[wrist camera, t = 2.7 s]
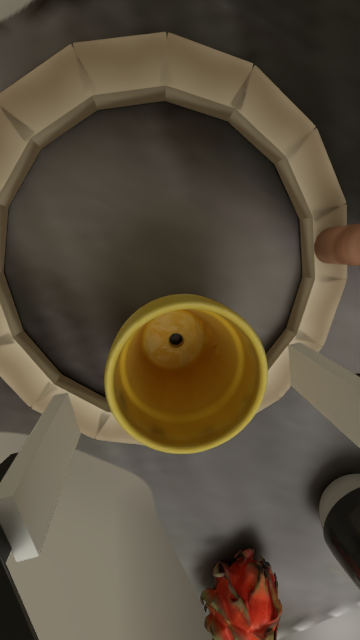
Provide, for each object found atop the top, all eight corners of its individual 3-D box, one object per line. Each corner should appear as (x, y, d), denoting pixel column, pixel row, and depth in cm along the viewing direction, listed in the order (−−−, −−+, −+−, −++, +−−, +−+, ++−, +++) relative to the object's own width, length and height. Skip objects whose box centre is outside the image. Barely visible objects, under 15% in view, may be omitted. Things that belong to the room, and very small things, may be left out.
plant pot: (242, 302, 26) (297, 331, 16) (205, 396, 28) (234, 469, 18) (138, 266, 24) (132, 276, 14) (105, 370, 26) (82, 437, 16)
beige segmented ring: (327, 32, 21) (412, -72, 14) (334, 394, 29) (390, 436, 23) (-107, 86, 19) (-250, -7, 12) (35, 461, 27) (-2, 531, 20)
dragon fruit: (203, 588, 37) (237, 509, 36) (262, 641, 33) (301, 554, 33) (177, 649, 29) (221, 550, 29) (252, 727, 26) (302, 615, 25)
